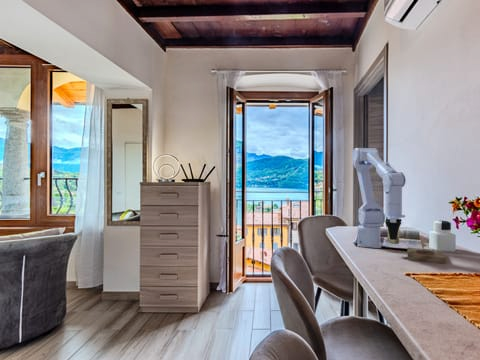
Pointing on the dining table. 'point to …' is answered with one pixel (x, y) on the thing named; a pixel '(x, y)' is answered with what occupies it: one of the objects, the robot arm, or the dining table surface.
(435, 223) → the medicine bottle
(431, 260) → the square tan frame
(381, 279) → the dining table surface
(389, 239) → the brass peg
